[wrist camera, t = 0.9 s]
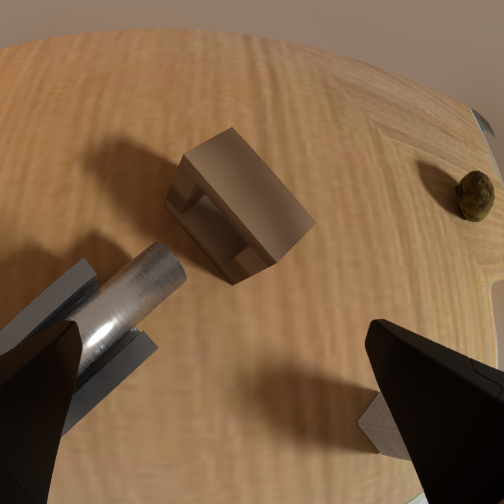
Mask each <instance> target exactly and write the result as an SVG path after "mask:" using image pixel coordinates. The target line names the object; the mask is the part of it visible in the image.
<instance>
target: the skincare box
mask: <svg viewBox="0 0 504 504" xmlns="http://www.w3.org/2000/svg"><path fill="white" fill-rule="evenodd" d="M357 424H358V425H359V427H360V428H361V429H362V430H363V432H364V433H365V434H366V435H367V437H368V438H369V439H370V440H371V442H372V443H373V444H374V445H375V447H376V448H377V449H378V450H379V452H380V453H381V454H382V455H386V456H390V457H395V458H399V459H404V460H409V461H411V458H410V456H409V453H408V451H407V449H406V446H405V444H404V442H403V439H402V437H401V435H400V433H399V430H398V428H397V426H396V423H395V421H394V419H393V417H392V415H391V412H390V410H389V408H388V406H387V404H386V401H385V399H384V397H383V395H382V393H381V392H380V393H378V395H377V396H376V398H375V399H374V400H373V402H372V403H371V404H370V406H369V407H368V408H367V410H366V411H365V412H364V414H363V415H362V416H361V417H360V419H359V420H358V421H357Z"/></svg>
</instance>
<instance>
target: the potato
mask: <svg viewBox="0 0 504 504" xmlns="http://www.w3.org/2000/svg"><path fill="white" fill-rule="evenodd" d="M455 190H456V193H457V199H458V204H459V207H460V208H461V211H462V214H463V215H464V217H465V218H466V219H467V220H469V221H471V222H479V221H481V220H483V219H484V218H485V217H486V216H487V215H488V213H489V211H490V209H491V207H492V206H493V202H494V187H493V185H492V182H491V181H490V179H489V178H488V177H487V176H486V175H485V174H484V173H482V172H479V171H472V172H470V173H468V174H467V175H466V176H464V177H463V178H462V180H461V181H460V183H459V185H457V186H456V188H455Z"/></svg>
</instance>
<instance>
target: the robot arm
mask: <svg viewBox="0 0 504 504" xmlns="http://www.w3.org/2000/svg"><path fill="white" fill-rule="evenodd" d="M365 349H366V352H367V355H368V357H369V360H370V363H371V366H372V369H373V372H374V375H375V378H376V381H377V383H378V386H379V388H380V390H381V393H382V395H383V397H384V399H385V401H386V404H387V406H388V408H389V410H390V412H391V415H392V417H393V419H394V421H395V423H396V426H397V428H398V430H399V433H400V435H401V437H402V439H403V442H404V444H405V446H406V449H407V451H408V453H409V456H410V458H411V461H412V463H413V465H414V468H415V470H416V473H417V475H418V478H419V480H420V483H421V485H422V488H423V489H424V493H425V496H426V498H427V501H428V503H429V504H504V372H503V371H500V370H498V369H495V368H493V367H490V366H488V365H485V364H483V363H481V362H478V361H476V360H474V359H472V358H469V357H467V356H465V355H463V354H460V353H458V352H456V351H454V350H451V349H449V348H447V347H445V346H443V345H440V344H438V343H436V342H434V341H432V340H429V339H427V338H425V337H423V336H420V335H418V334H416V333H414V332H412V331H409V330H407V329H405V328H403V327H401V326H398V325H396V324H394V323H392V322H390V321H387V320H385V319H376V320H372V321H371V323H370V326H369V329H368V332H367V336H366V339H365ZM82 351H83V344H82V340H81V336H80V332H79V328H78V325H77V323H76V322H75V321H72V320H62V321H60V322H59V323H57V324H55V325H53V326H52V327H50V328H48V329H46V330H44V331H43V332H41V333H39V334H37V335H35V336H34V337H32V338H30V339H28V340H27V341H25V342H23V343H21V344H20V345H18V346H16V347H14V348H13V349H11V350H9V351H7V352H6V353H4V354H2V355H1V356H0V504H47V500H48V494H49V488H50V483H51V478H52V473H53V469H54V464H55V460H56V455H57V451H58V447H59V443H60V439H61V435H62V431H63V428H64V424H65V420H66V417H67V413H68V410H69V407H70V403H71V400H72V397H73V393H74V389H75V384H76V379H77V374H78V369H79V365H80V360H81V355H82Z"/></svg>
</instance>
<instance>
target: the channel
mask: <svg viewBox="0 0 504 504" xmlns="http://www.w3.org/2000/svg"><path fill="white" fill-rule="evenodd" d="M100 286H101V284H100V282H99V279H98V276H97V274H96V272H95V271H94V270H93V268H92V267H91V266H90V264H89V263H88V262H87V260H86V259H85V257H83V258H82V259H81V260H80V261H79V262H77V263H76V264H75V265H74V266H72V267H71V268H70V269H69V270H68V271H66V272H65V273H64V274H63V275H62V276H60V277H59V278H58V279H57V280H56V281H55V282H53V283H52V284H51V285H50V286H49V287H48V288H47V289H45V290H44V291H43V292H42V293H41V294H40V295H39V296H38V297H36V298H35V299H34V300H33V301H32V302H31V303H30V304H29V305H28V306H26V307H25V308H24V309H23V310H22V311H21V312H20V313H19V314H18V315H17V316H16V317H15V318H14V319H13V320H12V321H10V322H9V323H8V324H7V325H6V326H5V327H4V328H3V329H2V330H1V331H0V354H4V353H6V352H7V351H9V350H11V349H13V348H14V347H16V346H18V345H20V344H21V343H23V342H25V341H27V340H28V339H30V338H32V337H34V336H35V335H37V334H39V333H41V332H43V331H44V330H46V329H48V328H50V327H52V326H53V325H55V324H57V323H59V322H60V321H61V320H62V319H63V318H64V317H65V316H66V315H67V314H69V313H70V312H71V311H72V310H73V309H74V308H75V307H77V306H78V305H79V304H80V303H81V302H82V301H83V300H85V299H86V298H87V297H88V296H89V295H90V294H92V293H93V292H94V291H95V290H96V289H97V288H99V287H100ZM157 349H158V347H157V345H156V344H155V343H154V342H153V341H152V340H151V339H150V338H149V337H148V335H147V334H146V333H145V332H144V331H142V332H140V331H139V330H138V329H137V328H136V327H134V328H132V329H131V330H130V331H129V332H128V333H127V334H126V335H125V336H124V337H122V338H121V339H120V340H119V341H118V342H117V343H116V344H115V345H114V346H112V347H111V348H110V349H109V350H108V351H107V352H106V353H105V354H104V355H102V356H101V357H100V358H99V359H98V360H97V361H96V362H95V363H94V364H93V365H91V366H90V367H89V368H88V369H87V370H86V371H85V372H84V373H83V374H82V375H81V376H79V377H78V378H77V379H76V384H75V389H74V393H73V397H72V400H71V403H70V407H69V410H68V413H67V417H66V420H65V424H64V428H63V431H62V435H61V437H62V436H63V435H64V434H65V433H66V432H67V431H68V430H70V429H71V428H72V427H73V426H74V425H75V424H76V423H77V422H78V421H79V420H81V419H82V418H83V417H84V416H85V415H86V414H87V413H88V412H89V411H90V410H91V409H93V408H94V407H95V406H96V405H97V404H98V403H99V402H100V401H101V400H102V399H103V398H105V397H106V396H107V395H108V394H109V393H110V392H111V391H112V390H113V389H114V388H115V387H116V386H118V385H119V384H120V383H121V382H122V381H123V380H124V379H125V378H126V377H127V376H128V375H130V374H131V373H132V372H133V371H134V370H135V369H136V368H137V367H138V366H139V365H140V364H141V363H143V362H144V361H145V360H146V359H147V358H148V357H149V356H150V355H151V354H152V353H153V352H154V351H156V350H157Z"/></svg>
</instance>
